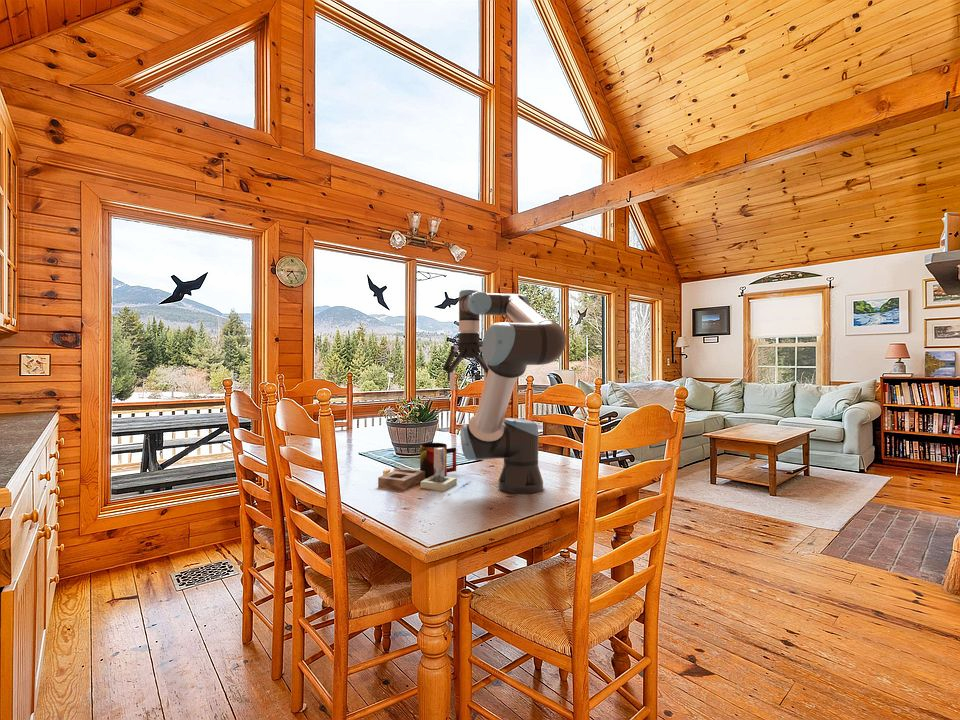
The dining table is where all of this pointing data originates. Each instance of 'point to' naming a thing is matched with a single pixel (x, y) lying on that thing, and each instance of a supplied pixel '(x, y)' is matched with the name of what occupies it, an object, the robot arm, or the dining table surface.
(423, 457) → the mug
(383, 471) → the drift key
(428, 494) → the dining table surface
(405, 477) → the socket block
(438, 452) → the peg
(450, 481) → the cream square frame
